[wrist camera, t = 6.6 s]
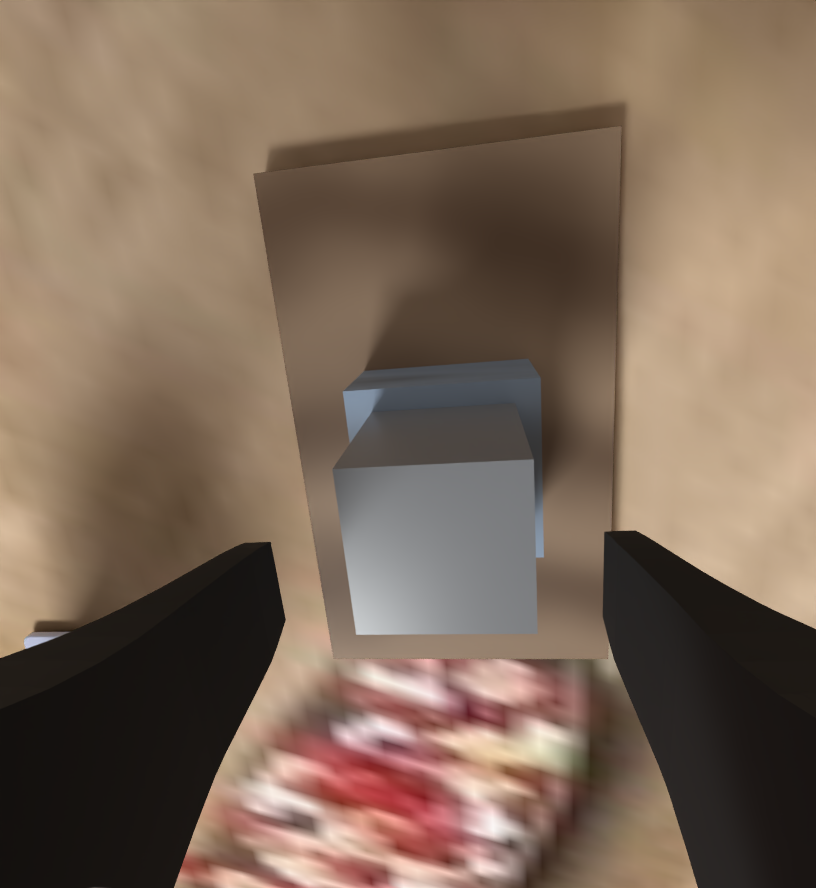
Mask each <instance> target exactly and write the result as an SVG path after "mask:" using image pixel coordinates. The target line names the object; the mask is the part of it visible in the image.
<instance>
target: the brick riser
mask: <svg viewBox="0 0 816 888" xmlns="http://www.w3.org/2000/svg"><path fill="white" fill-rule="evenodd" d="M621 129H622V126H616V127H608V128H601V129H593V130H585V131H578V132H570V133H562V134H555V135H547V136H539V137H532V138H524V139H516V140H509V141H501V142H493V143H486V144H478V145H470V146H463V147H455V148H447V149H440V150H432V151H424V152H417V153H409V154H401V155H393V156H386V157H378V158H370V159H363V160H355V161H347V162H340V163H332V164H324V165H317V166H309V167H301V168H294V169H286V170H278V171H271V172H263V173H255V174H254V180H255V186H256V192H257V198H258V204H259V210H260V216H261V222H262V228H263V234H264V241H265V247H266V253H267V259H268V265H269V271H270V277H271V283H272V289H273V295H274V301H275V307H276V313H277V319H278V325H279V331H280V337H281V343H282V350H283V356H284V362H285V368H286V374H287V380H288V386H289V392H290V398H291V404H292V410H293V416H294V422H295V428H296V434H297V440H298V446H299V452H300V459H301V465H302V471H303V477H304V483H305V489H306V495H307V501H308V507H309V513H310V519H311V525H312V531H313V537H314V543H315V549H316V555H317V561H318V568H319V574H320V580H321V586H322V592H323V598H324V604H325V610H326V616H327V622H328V628H329V634H330V640H331V646H332V652H333V658H334V659H608V645H609V639H608V635H607V632H606V628H605V624H604V620H603V570H604V532H607V531H611V526H612V486H613V446H614V407H615V367H616V327H617V288H618V248H619V208H620V169H621ZM506 403H515V404H516V407H517V410H518V413H519V416H520V419H521V422H522V425H523V428H524V431H525V434H526V437H527V440H528V443H529V446H530V449H531V452H532V455H533V458H534V490H535V536H536V582H537V628H538V634H407V635H356V629H355V622H354V615H353V608H352V602H351V595H350V588H349V581H348V574H347V567H346V560H345V553H344V546H343V540H342V533H341V526H340V519H339V512H338V505H337V498H336V491H335V485H334V478H333V471H332V469H333V467H334V466H335V464H336V463H337V462H338V460H339V459H340V457H341V456H342V454H343V453H344V451H345V450H346V449H347V447H348V446H349V444H350V443H351V441H352V440H353V438H354V437H355V435H356V434H357V433H358V431H359V430H360V428H361V427H362V425H363V424H364V422H365V421H366V420H367V418H368V417H369V415H370V414H371V412H379V411H395V410H411V409H427V408H443V407H459V406H475V405H491V404H506Z"/></svg>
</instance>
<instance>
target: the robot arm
mask: <svg viewBox="0 0 816 888" xmlns="http://www.w3.org/2000/svg"><path fill="white" fill-rule="evenodd" d="M285 620H286V619H285V614H284V609H283V604H282V599H281V594H280V588H279V583H278V578H277V573H276V568H275V562H274V557H273V552H272V547H271V542H257V543H243V544H241V545H238V546H236V547H234V548H232V549H230V550H228V551H226V552H224V553H222V554H220V555H218V556H217V557H215V558H213V559H211V560H209V561H208V562H206V563H204V564H202V565H201V566H199V567H197V568H195V569H194V570H192V571H190V572H188V573H187V574H185V575H183V576H181V577H179V578H178V579H176V580H174V581H172V582H171V583H169V584H167V585H165V586H163V587H161V588H160V589H158V590H156V591H154V592H152V593H150V594H148V595H146V596H144V597H143V598H141V599H139V600H137V601H135V602H133V603H131V604H129V605H127V606H125V607H124V608H122V609H120V610H117V611H115V612H113V613H111V614H109V615H107V616H105V617H103V618H101V619H99V620H96V621H94V622H92V623H89V624H87V625H85V626H83V627H80V628H78V629H76V630H73V631H71V632H33V633H31V634H30V635H28V636H27V637H26V638H25V639H24V645H25V648H26V649H24V650H22V651H19V652H16V653H14V654H11V655H8V656H5V657H3V658H0V888H174V886H175V883H176V880H177V877H178V874H179V872H180V869H181V866H182V863H183V860H184V858H185V855H186V852H187V849H188V846H189V844H190V841H191V838H192V835H193V832H194V830H195V827H196V824H197V822H198V819H199V817H200V814H201V811H202V809H203V806H204V804H205V801H206V798H207V796H208V793H209V791H210V788H211V786H212V783H213V780H214V778H215V775H216V773H217V771H218V769H219V767H220V764H221V762H222V760H223V758H224V756H225V753H226V751H227V750H228V748H229V746H230V744H231V742H232V740H233V738H234V736H235V734H236V732H237V730H238V728H239V726H240V724H241V722H242V720H243V718H244V716H245V714H246V712H247V710H248V708H249V706H250V704H251V702H252V700H253V698H254V696H255V694H256V692H257V690H258V688H259V686H260V684H261V682H262V680H263V678H264V676H265V674H266V672H267V670H268V668H269V666H270V664H271V662H272V659H273V656H274V654H275V651H276V648H277V645H278V642H279V639H280V636H281V633H282V630H283V626H284V623H285ZM603 620H604V624H605V628H606V632H607V635H608V639H609V643H610V646H611V650H612V653H613V657H614V660H615V663H616V665H617V668H618V670H619V673H620V675H621V677H622V680H623V682H624V685H625V687H626V689H627V692H628V694H629V697H630V699H631V701H632V704H633V706H634V708H635V711H636V713H637V715H638V718H639V720H640V722H641V725H642V727H643V730H644V732H645V734H646V737H647V739H648V741H649V744H650V746H651V748H652V751H653V753H654V755H655V758H656V760H657V762H658V765H659V768H660V770H661V773H662V776H663V778H664V781H665V784H666V786H667V789H668V792H669V795H670V798H671V801H672V804H673V808H674V811H675V814H676V817H677V820H678V824H679V827H680V830H681V833H682V836H683V839H684V843H685V846H686V849H687V852H688V856H689V859H690V862H691V866H692V869H693V873H694V876H695V879H696V883H697V886H698V888H816V629H814V628H812V627H810V626H807V625H805V624H803V623H801V622H799V621H796V620H794V619H792V618H790V617H787V616H785V615H783V614H781V613H779V612H777V611H774V610H772V609H770V608H768V607H766V606H764V605H762V604H760V603H758V602H756V601H755V600H753V599H751V598H749V597H747V596H745V595H743V594H742V593H740V592H738V591H736V590H734V589H732V588H730V587H728V586H727V585H725V584H723V583H721V582H720V581H718V580H716V579H714V578H713V577H711V576H709V575H708V574H706V573H704V572H703V571H701V570H699V569H698V568H696V567H694V566H693V565H691V564H690V563H688V562H686V561H685V560H683V559H682V558H680V557H678V556H677V555H675V554H674V553H672V552H670V551H669V550H667V549H666V548H664V547H663V546H661V545H659V544H658V543H656V542H655V541H653V540H651V539H650V538H648V537H646V536H645V535H643V534H641V533H639V532H637V531H607V532H604V570H603Z"/></svg>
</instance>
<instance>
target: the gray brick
mask: <svg viewBox="0 0 816 888" xmlns="http://www.w3.org/2000/svg"><path fill="white" fill-rule="evenodd" d="M332 471H333V478H334V485H335V491H336V498H337V505H338V512H339V519H340V526H341V533H342V540H343V546H344V553H345V560H346V567H347V574H348V581H349V588H350V595H351V602H352V608H353V615H354V622H355V629H356V635H407V634H538V628H537V582H536V536H535V490H534V458H533V455H532V452H531V449H530V446H529V443H528V440H527V437H526V434H525V431H524V428H523V425H522V422H521V419H520V416H519V413H518V410H517V407H516V404H515V403H506V404H491V405H475V406H459V407H443V408H427V409H411V410H395V411H379V412H371V414H370V415H369V417H368V418H367V420H366V421H365V422H364V424H363V425H362V427H361V428H360V430H359V431H358V433H357V434H356V435H355V437H354V438H353V440H352V441H351V443H350V444H349V446H348V447H347V449H346V450H345V451H344V453H343V454H342V456H341V457H340V459H339V460H338V462H337V463H336V464H335V466H334V467H333V469H332Z"/></svg>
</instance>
